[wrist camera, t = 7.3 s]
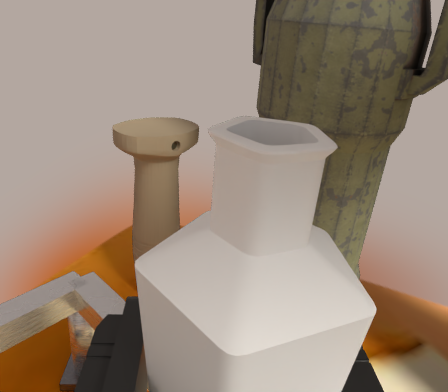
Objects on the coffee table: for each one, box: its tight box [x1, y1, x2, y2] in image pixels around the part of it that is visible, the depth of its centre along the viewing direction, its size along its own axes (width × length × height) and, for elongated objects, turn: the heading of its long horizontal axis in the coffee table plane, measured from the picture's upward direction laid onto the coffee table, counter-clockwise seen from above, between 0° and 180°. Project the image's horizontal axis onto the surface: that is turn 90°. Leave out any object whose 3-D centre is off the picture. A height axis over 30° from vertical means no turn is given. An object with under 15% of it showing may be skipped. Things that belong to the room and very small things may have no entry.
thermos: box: [253, 0, 448, 279], centre depth 24 cm, size 9×12×35 cm
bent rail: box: [0, 271, 149, 391], centre depth 21 cm, size 16×10×8 cm, turn 93°
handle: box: [113, 118, 199, 264], centre depth 31 cm, size 5×6×15 cm
